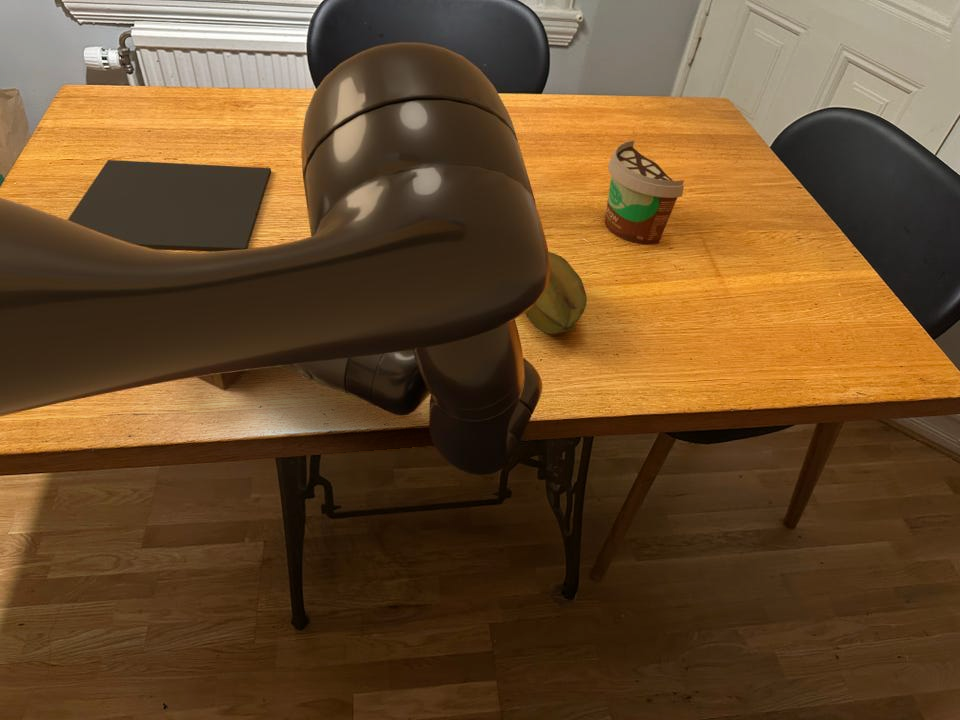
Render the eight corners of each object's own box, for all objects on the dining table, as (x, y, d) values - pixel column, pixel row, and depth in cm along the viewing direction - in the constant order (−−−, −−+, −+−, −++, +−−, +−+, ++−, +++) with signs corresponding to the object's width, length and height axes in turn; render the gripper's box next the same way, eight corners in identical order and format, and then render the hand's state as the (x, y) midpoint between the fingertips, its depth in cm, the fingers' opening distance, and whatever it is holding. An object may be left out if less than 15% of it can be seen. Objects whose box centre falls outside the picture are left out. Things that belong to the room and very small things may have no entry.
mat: (54, 245, 82) (53, 240, 82) (109, 163, 97) (107, 159, 96) (245, 252, 85) (245, 248, 84) (271, 171, 99) (270, 167, 99)
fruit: (601, 302, 84) (613, 257, 79) (565, 360, 76) (576, 314, 71) (515, 271, 87) (522, 226, 82) (472, 324, 79) (477, 277, 74)
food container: (579, 209, 99) (593, 143, 93) (615, 202, 102) (631, 138, 95) (627, 257, 92) (646, 189, 85) (665, 249, 94) (686, 182, 87)
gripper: (367, 268, 65) (228, 214, 69) (268, 356, 55) (113, 287, 60) (369, 328, 70) (239, 274, 75) (278, 419, 60) (135, 351, 65)
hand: (183, 280), depth 67 cm, fingers open, 7 cm apart
